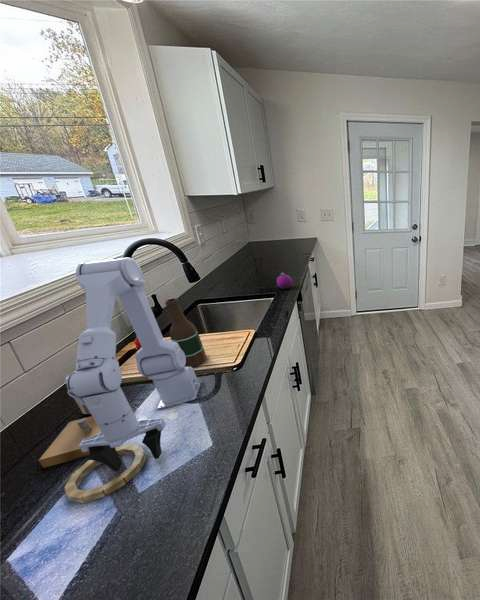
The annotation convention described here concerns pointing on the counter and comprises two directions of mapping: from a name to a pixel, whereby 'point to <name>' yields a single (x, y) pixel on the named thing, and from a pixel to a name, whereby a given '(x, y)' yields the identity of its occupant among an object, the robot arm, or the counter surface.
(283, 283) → the christmas ornament
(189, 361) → the beer bottle
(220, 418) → the counter surface
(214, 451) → the counter surface
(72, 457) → the stand
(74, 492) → the hoop
